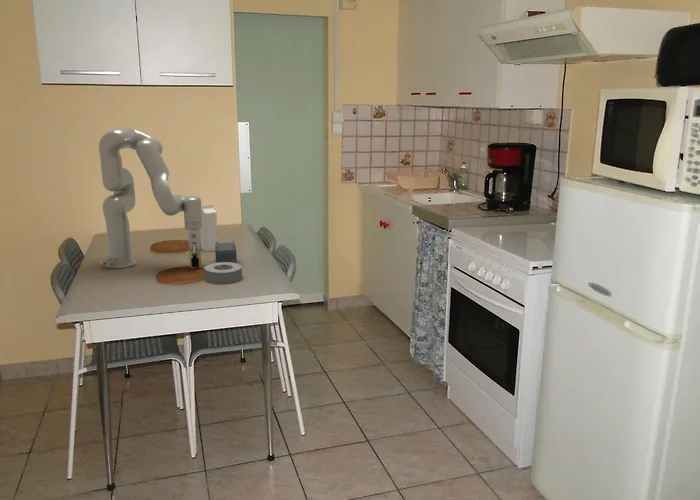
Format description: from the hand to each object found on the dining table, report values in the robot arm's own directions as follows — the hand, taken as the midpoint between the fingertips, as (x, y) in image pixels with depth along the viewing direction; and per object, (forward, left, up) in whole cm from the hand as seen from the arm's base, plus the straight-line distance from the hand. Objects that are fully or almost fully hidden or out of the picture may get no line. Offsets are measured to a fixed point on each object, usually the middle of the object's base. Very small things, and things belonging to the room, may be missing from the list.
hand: (195, 264), depth 265 cm
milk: (+27, +16, -1) cm, 31 cm away
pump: (0, 0, -1) cm, 1 cm away
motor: (+12, -7, -1) cm, 14 cm away
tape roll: (-7, -22, -2) cm, 23 cm away
